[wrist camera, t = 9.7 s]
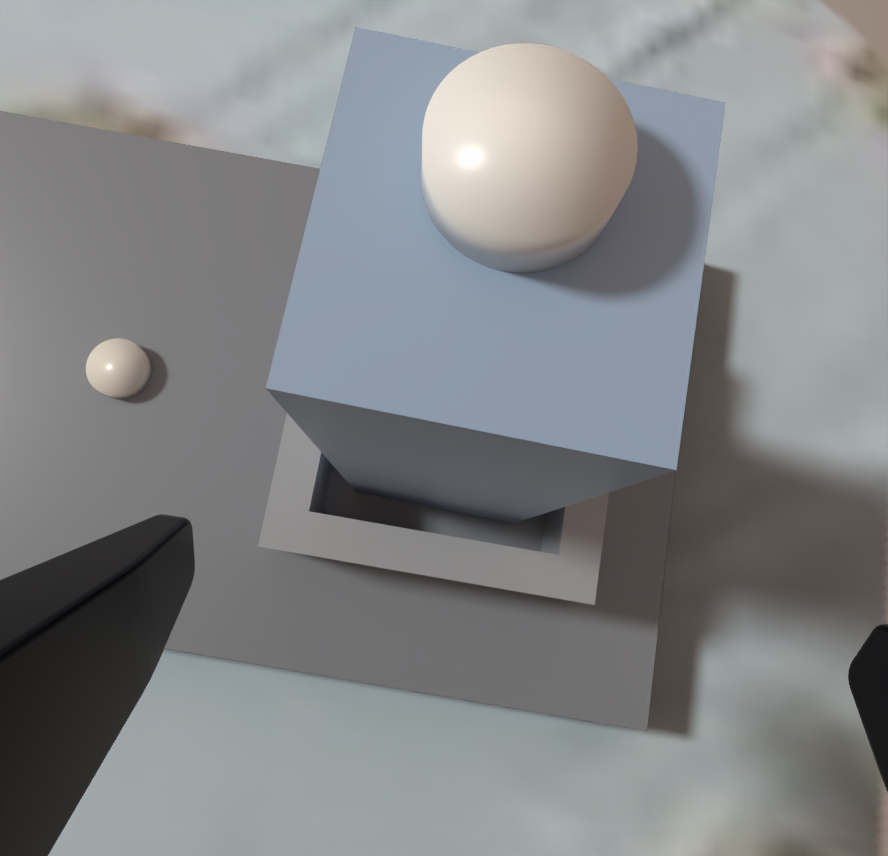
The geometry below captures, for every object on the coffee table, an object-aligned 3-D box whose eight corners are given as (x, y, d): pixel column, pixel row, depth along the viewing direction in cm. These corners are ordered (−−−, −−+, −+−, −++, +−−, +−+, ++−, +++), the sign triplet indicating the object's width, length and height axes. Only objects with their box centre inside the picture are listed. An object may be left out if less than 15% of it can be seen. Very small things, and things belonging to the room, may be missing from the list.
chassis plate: (685, 254, 22) (738, 197, 19) (632, 720, 20) (681, 757, 16) (-10, 129, 22) (-92, 46, 18) (-157, 585, 19) (-285, 591, 16)
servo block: (514, 523, 19) (708, 459, 7) (355, 492, 19) (247, 368, 7) (541, 369, 20) (758, 55, 7) (388, 339, 20) (349, -29, 7)
